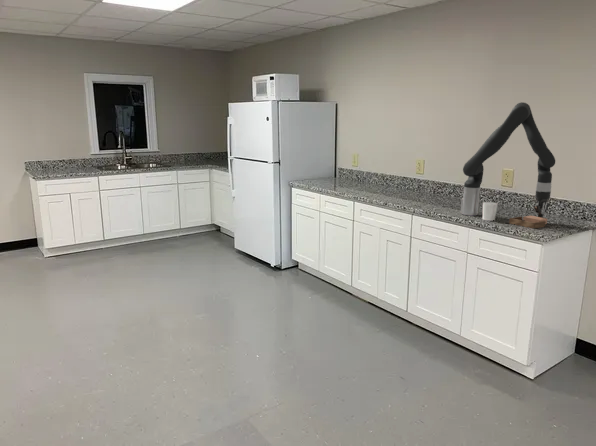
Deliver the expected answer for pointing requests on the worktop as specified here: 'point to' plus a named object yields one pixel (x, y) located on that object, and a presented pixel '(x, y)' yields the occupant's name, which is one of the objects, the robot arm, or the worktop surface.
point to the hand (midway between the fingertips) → (540, 219)
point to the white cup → (489, 211)
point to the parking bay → (526, 223)
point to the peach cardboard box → (534, 219)
